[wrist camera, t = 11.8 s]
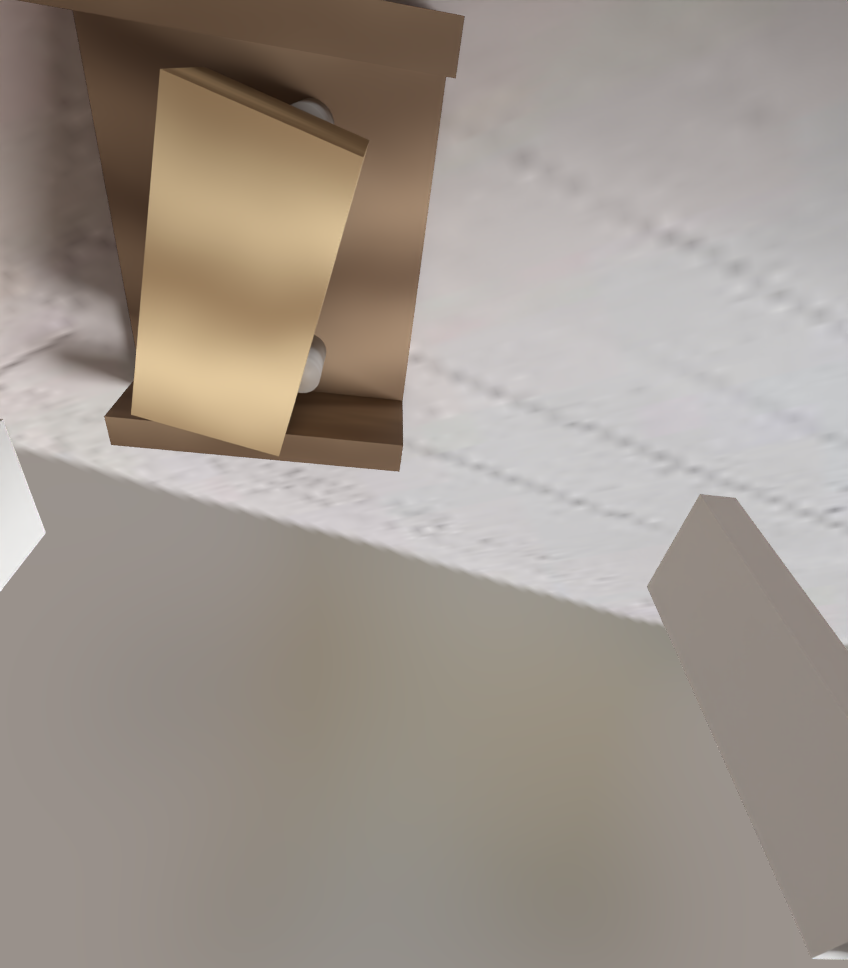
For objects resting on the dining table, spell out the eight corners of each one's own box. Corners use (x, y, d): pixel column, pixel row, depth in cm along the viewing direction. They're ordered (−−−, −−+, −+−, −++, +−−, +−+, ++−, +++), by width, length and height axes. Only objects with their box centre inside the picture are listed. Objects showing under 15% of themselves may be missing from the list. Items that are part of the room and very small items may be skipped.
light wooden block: (294, 404, 27) (278, 456, 24) (167, 365, 26) (130, 414, 22) (369, 140, 21) (363, 157, 17) (204, 66, 19) (159, 68, 16)
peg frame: (74, -48, 20) (-15, -76, 16) (451, 24, 22) (464, 16, 17) (151, 390, 31) (111, 444, 27) (399, 416, 33) (399, 471, 28)
